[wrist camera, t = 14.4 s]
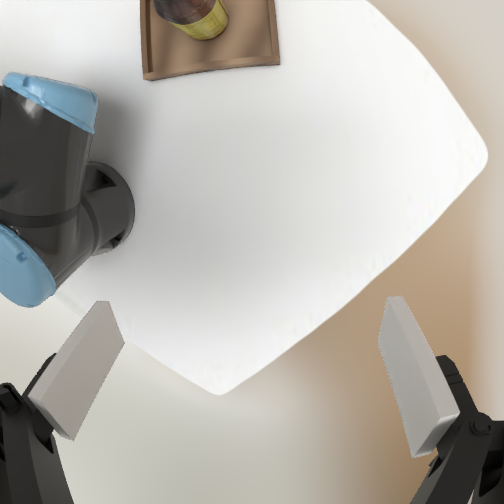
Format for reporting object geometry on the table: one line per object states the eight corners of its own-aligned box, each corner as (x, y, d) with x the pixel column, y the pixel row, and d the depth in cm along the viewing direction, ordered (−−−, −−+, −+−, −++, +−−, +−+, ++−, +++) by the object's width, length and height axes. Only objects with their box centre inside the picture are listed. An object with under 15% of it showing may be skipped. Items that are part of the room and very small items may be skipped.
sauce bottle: (185, 7, 31) (122, -53, 13) (230, 2, 30) (195, -70, 12) (184, 47, 33) (115, 5, 15) (230, 42, 33) (192, -12, 15)
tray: (151, 81, 37) (143, 79, 34) (147, 0, 31) (139, -6, 28) (279, 64, 35) (279, 61, 32) (271, -20, 29) (270, -28, 26)
